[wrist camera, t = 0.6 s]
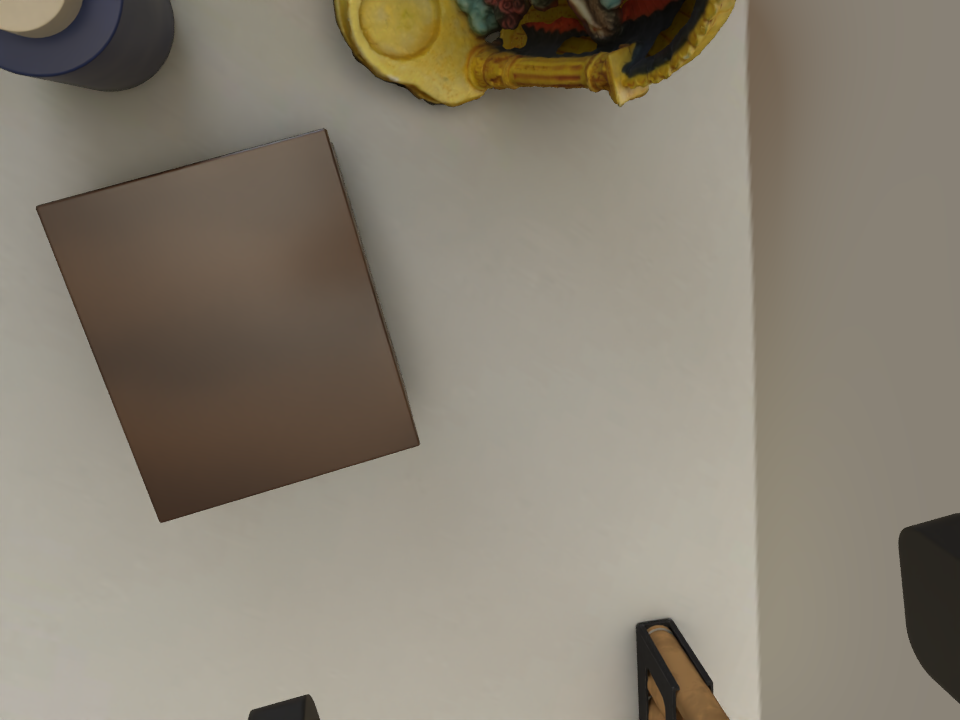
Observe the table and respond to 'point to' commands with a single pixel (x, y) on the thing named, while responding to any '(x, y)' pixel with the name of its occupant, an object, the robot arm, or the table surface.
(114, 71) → the bottle
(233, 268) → the brown wooden stand
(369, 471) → the table surface
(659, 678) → the ammunition clip
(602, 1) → the shrine
